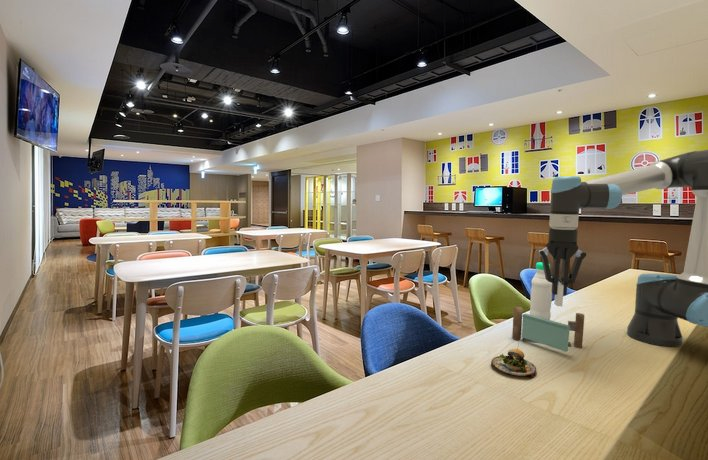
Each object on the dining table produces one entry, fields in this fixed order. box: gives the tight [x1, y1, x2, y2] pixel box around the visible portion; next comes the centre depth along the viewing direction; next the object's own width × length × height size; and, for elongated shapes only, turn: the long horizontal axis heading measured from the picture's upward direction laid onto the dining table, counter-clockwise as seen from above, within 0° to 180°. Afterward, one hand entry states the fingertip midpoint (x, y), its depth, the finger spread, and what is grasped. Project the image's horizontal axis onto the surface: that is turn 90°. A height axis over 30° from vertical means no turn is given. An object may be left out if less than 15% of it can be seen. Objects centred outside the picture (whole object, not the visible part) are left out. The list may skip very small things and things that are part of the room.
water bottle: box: [529, 261, 553, 320], centre depth 137 cm, size 7×7×25 cm
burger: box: [490, 343, 537, 379], centre depth 105 cm, size 12×12×8 cm
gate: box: [521, 312, 570, 352], centre depth 120 cm, size 14×2×8 cm, turn 36°
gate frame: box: [511, 306, 585, 349], centre depth 125 cm, size 21×4×11 cm, turn 71°
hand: (558, 304), depth 112 cm, fingers closed
